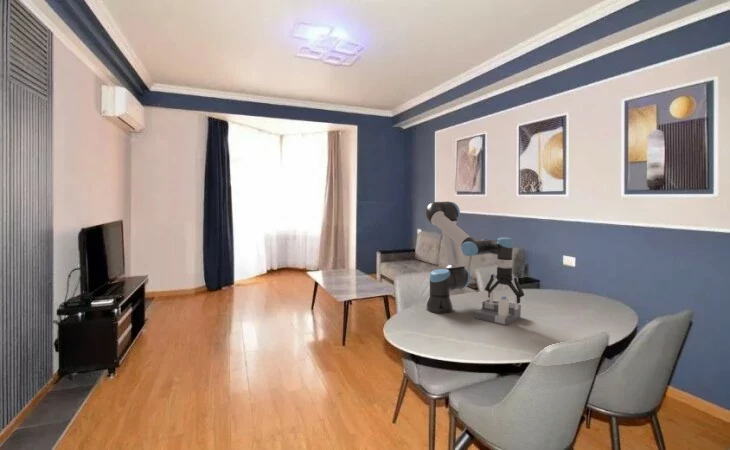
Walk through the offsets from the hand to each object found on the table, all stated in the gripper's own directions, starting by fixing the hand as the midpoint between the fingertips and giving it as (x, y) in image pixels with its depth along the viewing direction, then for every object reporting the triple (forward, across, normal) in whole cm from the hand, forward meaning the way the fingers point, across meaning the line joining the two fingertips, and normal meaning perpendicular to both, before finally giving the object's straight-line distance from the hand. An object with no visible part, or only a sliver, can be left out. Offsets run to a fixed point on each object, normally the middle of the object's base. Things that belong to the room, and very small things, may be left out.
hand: (503, 306), depth 198 cm
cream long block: (+8, 0, 0) cm, 8 cm away
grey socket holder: (+8, -5, +4) cm, 11 cm away
